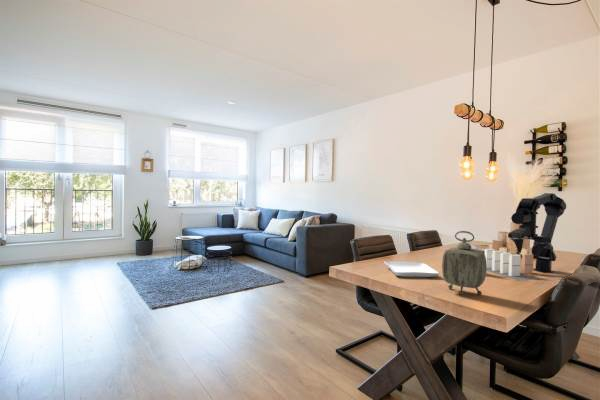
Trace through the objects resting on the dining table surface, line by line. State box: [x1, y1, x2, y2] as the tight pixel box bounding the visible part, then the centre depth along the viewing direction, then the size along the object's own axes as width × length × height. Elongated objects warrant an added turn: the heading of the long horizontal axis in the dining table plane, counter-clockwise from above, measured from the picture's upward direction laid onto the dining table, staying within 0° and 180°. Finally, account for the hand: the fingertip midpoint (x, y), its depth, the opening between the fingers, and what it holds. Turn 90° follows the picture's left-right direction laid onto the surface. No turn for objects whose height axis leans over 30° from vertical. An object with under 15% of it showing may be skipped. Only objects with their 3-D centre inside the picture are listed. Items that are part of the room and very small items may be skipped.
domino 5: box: [521, 253, 534, 275], centre depth 156 cm, size 5×2×10 cm, turn 102°
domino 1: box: [484, 248, 496, 269], centre depth 165 cm, size 5×2×10 cm, turn 102°
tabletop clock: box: [441, 230, 487, 296], centre depth 123 cm, size 14×9×25 cm, turn 48°
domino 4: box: [509, 254, 522, 276], centre depth 150 cm, size 5×2×10 cm, turn 102°
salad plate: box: [383, 261, 440, 278], centre depth 155 cm, size 21×21×3 cm
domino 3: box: [500, 252, 513, 273], centre depth 155 cm, size 5×2×10 cm, turn 102°
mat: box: [486, 268, 538, 281], centre depth 156 cm, size 12×26×1 cm, turn 12°
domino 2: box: [492, 250, 504, 271], centre depth 160 cm, size 5×2×10 cm, turn 102°
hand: (527, 254), depth 156 cm, fingers open, 9 cm apart
